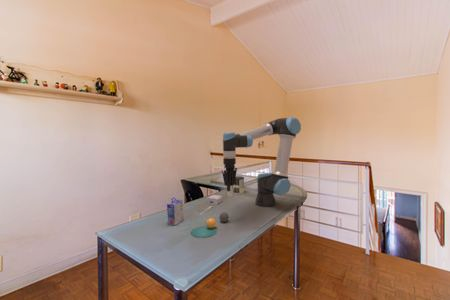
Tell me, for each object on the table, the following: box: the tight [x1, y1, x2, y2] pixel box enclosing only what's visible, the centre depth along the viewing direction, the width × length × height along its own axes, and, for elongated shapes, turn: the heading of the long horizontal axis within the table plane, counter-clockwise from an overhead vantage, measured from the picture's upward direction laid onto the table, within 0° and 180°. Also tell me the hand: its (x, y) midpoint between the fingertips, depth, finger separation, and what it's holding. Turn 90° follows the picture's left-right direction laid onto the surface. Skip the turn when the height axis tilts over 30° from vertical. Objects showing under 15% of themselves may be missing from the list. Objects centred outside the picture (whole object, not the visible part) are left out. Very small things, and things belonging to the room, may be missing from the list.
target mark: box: [190, 225, 218, 239], centre depth 118 cm, size 14×14×1 cm
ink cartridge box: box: [166, 197, 184, 226], centre depth 132 cm, size 10×6×14 cm, turn 161°
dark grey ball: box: [219, 211, 230, 223], centre depth 131 cm, size 6×6×6 cm
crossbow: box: [195, 205, 213, 216], centre depth 151 cm, size 16×13×2 cm
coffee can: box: [232, 175, 245, 195], centre depth 198 cm, size 10×10×14 cm
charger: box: [206, 194, 223, 206], centre depth 173 cm, size 5×9×15 cm
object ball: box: [205, 217, 217, 229], centre depth 122 cm, size 6×6×6 cm
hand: (229, 196), depth 135 cm, fingers closed
